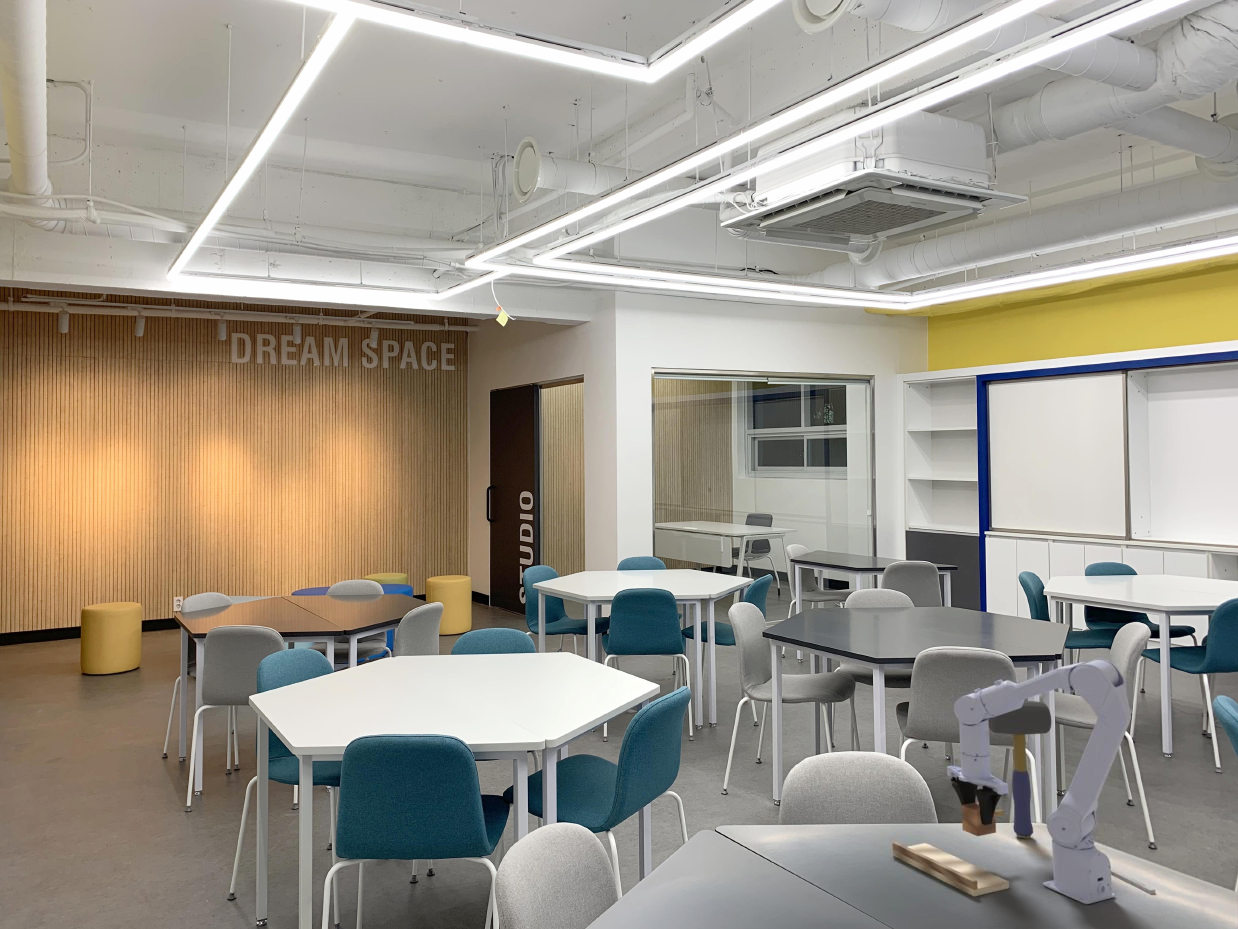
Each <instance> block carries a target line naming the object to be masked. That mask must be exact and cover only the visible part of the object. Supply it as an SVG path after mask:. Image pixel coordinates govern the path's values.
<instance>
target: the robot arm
mask: <svg viewBox="0 0 1238 929" xmlns="http://www.w3.org/2000/svg"><path fill="white" fill-rule="evenodd" d="M993 683H994V685H990V686H988V687H986V688H983V689H981V688H980V687H978V688H976V689H974V690H973V691H974V692H972V693H969V694H967V695H962V696H960V697H959V698H958V699H957V700H956V701H955V703H954V706H953V712H954V715H955V716H956V718H957V720H958V723H959V724H958V725H959V747H960V748H959V749H960V750H959V751H960V766H961V767H960V766H956V765H949V766H946V775H947V777H951V778H952V777H953V778H956V779H955V781H952V782H951V787H952V788H953V790H955V792H956V795H957V796H958V799H959V802H960V805H961V806H962V805H966V804H971V803H976V800H977V802H979V807H980V816H981V822H982V824H983V825H989V824H992V820H993V816H994V812H995V811H996V807H997V805H998V804H999V800H1000V799H1001V798H1002V796H1003V795H1007V794H1009V783H1006V782H1004V781H1002V780H1000V779H999V778H997V777H996V776H994V775H992V765H991V764H992V762H991V744H990V728H989V723H988V719H989V718H990V717H996V716H999V715H1002V714H1004V713H1007V712H1010V711H1013V710H1016V709H1019V708H1021V707H1022V706H1023V703H1024V701H1026V699H1028V698H1032V697H1035V696H1038V695H1041V694H1045V693H1048V692H1051V691H1054V690H1057V689H1061V690H1063V691H1066V692H1068V693H1072V692H1074V691H1075V692H1076V693H1077V694H1078V696H1080V697H1081V698H1082V699H1083V700H1084V701H1085V702H1086V703H1087V704H1088V705H1089V706H1090V707H1091V709H1092V711H1093V712H1094V714H1095V716H1096V717H1097V720H1096V721H1095V725H1094V727H1093V728H1092V732H1091V734H1090V737H1089V740H1088V742H1087V745H1086V746H1085V748H1084V751H1083V753H1082V757H1081V758H1080V761H1079V763H1078V766H1077V768H1076V771H1075V774H1074V776H1073V779H1072V781H1071V783H1070V786H1069V787H1068V790H1067V792H1066V794H1064V796H1063V798H1062V799H1061V802H1060V803H1059V806H1058V807H1057V809H1056V810H1055V811H1053V812H1051V813H1050V814H1049V815H1048V817H1047V820H1046V828H1047V829H1046V830H1047V831H1048V832H1047V833H1048V834H1049V835H1050V837H1051V848H1052V849H1051V850H1052V874H1053V879H1052V880H1048V881H1047V880H1046V881H1044V882H1042V885H1043V886H1045V887H1047V888H1048V889H1050V890H1053V891H1055V892H1058V893H1060V894H1063V895H1065V896H1067V897H1069V898H1071V899H1073V900H1076V901H1078V902H1080V903H1082V904H1085V905H1089V904H1093V903H1094V904H1095V903H1096V902H1097V903H1098V902H1101V901H1104V900H1108V899H1111V898H1115V897H1116V894H1115V893H1114V892H1113V890H1112V888H1113V886H1112V874H1111V868H1112V867H1111V861H1110V859H1109V857H1108V856H1107V854H1106V853H1103V851H1100V850H1099V849H1098V848H1097V847H1096V845H1095V840H1094V837H1093V835H1092V832H1094V831H1095V829H1096V827H1097V821H1098V820H1097V814H1096V813H1097V809H1098V807H1099V803H1098V799H1099V797H1100V795H1101V792H1102V790H1103V787H1104V785H1105V783H1106V780H1107V778H1108V776H1109V772H1110V770H1111V768H1112V766H1113V763H1114V760H1115V759H1116V756H1117V754H1118V751H1119V749H1120V747H1121V744H1122V742H1123V739H1124V737H1125V734H1126V731H1127V730H1128V727H1129V724H1130V723H1131V719H1132V711H1131V708H1130V704H1129V703H1130V702H1129V698H1128V696H1127V690H1126V679H1125V677H1124V676H1123V675H1122V673H1121V671H1120V669H1119V668H1118V667H1117V666H1116V665H1115V664H1114V663H1113V662H1112V661H1110V660H1108V659H1105V658H1094V659H1092V660H1090V661H1088V662H1087V663H1086V661H1082V662H1078V663H1072V664H1069V665H1064V666H1060V667H1058V668H1055V669H1053V670H1050V671H1048V672H1045V673H1042V674H1039V675H1038V676H1035V677H1032V678H1030V679H1027V680H1025V681H1022V682H1020V683H1016V682H1015V681H1014V682H1013V681H1011V680H1008V679H1006V680H1005V681H1004V680H1003V679H998V680H996V681H993ZM978 787H980V788H978ZM981 787H982V788H981Z"/></svg>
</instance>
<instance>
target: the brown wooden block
mask: <svg viewBox="0 0 1238 929" xmlns="http://www.w3.org/2000/svg"><path fill="white" fill-rule="evenodd" d="M1004 814H1005V810H1004V809H995V812H994V816H993V820H992V824H989V825H983V824H982V822H981V816H980V807H979V802H978V801H977V802H975V803H971V804H966V805H961V821H962V826H961V827H962V831H964V832H967V833H969V834H971V835H973V836H976V837H980V836H986V835H990V834H996V833H997V823H996V817H997V816H1003V815H1004Z"/></svg>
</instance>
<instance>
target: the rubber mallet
mask: <svg viewBox="0 0 1238 929" xmlns="http://www.w3.org/2000/svg"><path fill="white" fill-rule="evenodd" d="M988 723H989V731H991V732H992V733H994V734H1005V735H1012V736H1013V738H1012V739H1013V744H1012V745H1013V766H1014V767H1013V772H1012V779H1011V780H1012V782H1011V786H1012V787H1011V791H1012V792H1011V793H1012V799H1013V804H1014V805H1013V806H1014V808H1013V809H1014V821H1013V831H1014V833H1015V835H1016V837H1018V838H1019V839H1030V838H1031V837H1032V835H1033V833H1034V827H1033V824H1032V820H1031V816H1032V815H1031V799H1032V798H1031V797H1032V790H1031V780H1030V774H1029V771H1028V768H1027V767H1028V766H1027V751H1026V750H1027V749H1026V735H1040V734H1041V735H1042V734H1048V733H1050V732H1049V731H1051V728H1052V715H1051V710H1050V709H1049V706H1048V705H1047V704H1046V703H1045V702H1043V701H1036V700H1035V701H1033V700H1024V703H1023V706H1022V707H1021V708H1019V709H1016V710H1013V711H1010V712H1007V713H1004V714H1002V715H999V716H996V717H990V718H989V719H988Z"/></svg>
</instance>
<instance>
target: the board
mask: <svg viewBox="0 0 1238 929" xmlns="http://www.w3.org/2000/svg"><path fill="white" fill-rule="evenodd" d="M892 856H893V857H895V858H897V859H898V860H901V861H903V862H905V863H906V864H909V865H910V866H913V867H914V868H916V869H919V870H920V871H923V872H925V873H926V874H928V875H930V876H933V877H935V878H937V879H938V880H941V882H944V883H946V884H949V885H950V886H953V887H954V888H956V889H958V890H960V891H962V892H964V893H966V894H968V895H970V896H972V897H977V896H982V895H986V894H990V893H994V892H999V891H1002V890H1006V889H1007V890H1008V889H1009V888H1010V882H1009V880H1006V879H1005V878H1002V877H1000V876H998V875H995V874H993V873H991V872H989V871H987V870H985V869H983V868H982V867H978V866H976V865H974V864H972V863H970V862H967V861H966V860H963V859H962V858H959V857H957V856H954V855H952V854H950V853H948V852H946V851H944V850H942V849H940V848H937V847H935V846H933V845H931V844H929V843H926V842H923V843H919V844H914V845H909V846H906V845H904V844H901V843H900V842H897V841H892Z"/></svg>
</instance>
